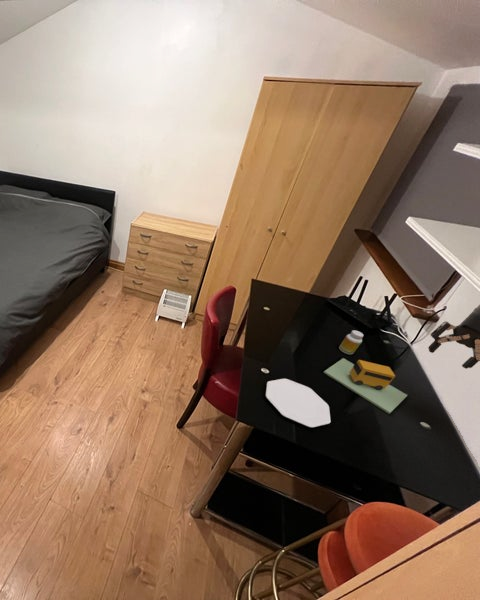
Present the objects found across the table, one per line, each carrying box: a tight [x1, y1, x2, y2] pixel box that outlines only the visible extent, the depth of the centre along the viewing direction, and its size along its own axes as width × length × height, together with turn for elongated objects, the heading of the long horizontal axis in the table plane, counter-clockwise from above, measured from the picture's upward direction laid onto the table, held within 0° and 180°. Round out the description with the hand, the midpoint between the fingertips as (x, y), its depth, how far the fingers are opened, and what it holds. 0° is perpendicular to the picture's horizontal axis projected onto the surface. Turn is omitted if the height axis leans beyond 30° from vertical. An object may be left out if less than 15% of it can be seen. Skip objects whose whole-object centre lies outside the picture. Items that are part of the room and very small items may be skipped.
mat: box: [323, 357, 408, 415], centre depth 123 cm, size 22×16×1 cm
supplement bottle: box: [338, 329, 364, 355], centre depth 137 cm, size 5×5×10 cm
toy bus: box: [349, 359, 396, 390], centre depth 121 cm, size 10×5×8 cm, turn 72°
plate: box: [265, 378, 332, 429], centre depth 112 cm, size 20×20×2 cm
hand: (447, 359), depth 103 cm, fingers open, 8 cm apart
